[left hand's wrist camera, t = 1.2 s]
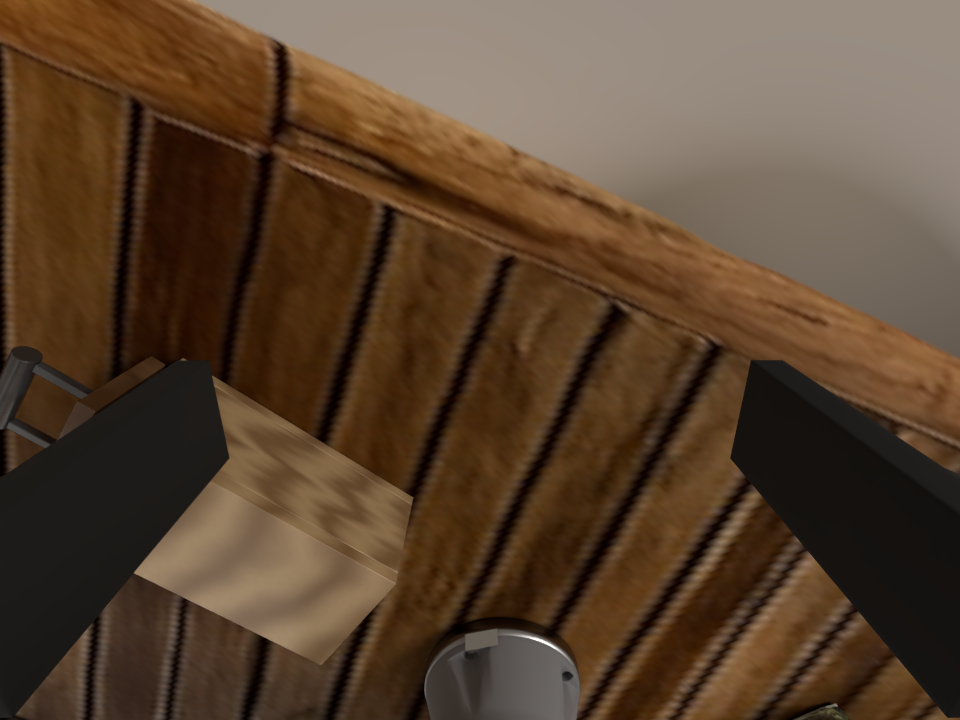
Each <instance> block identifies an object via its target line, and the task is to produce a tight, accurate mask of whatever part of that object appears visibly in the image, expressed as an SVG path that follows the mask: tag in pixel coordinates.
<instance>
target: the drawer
mask: <svg viewBox="0 0 960 720" xmlns="http://www.w3.org/2000/svg"><path fill="white" fill-rule="evenodd" d="M42 359H43V356H42V354H41V353H40V352H39V351H38V350H36V349H34V348H31V347H26V346H19V347H15V348H13V349H12V350H11V352H10V354H9V357H8V359H7V361H6V364H5V366H4V368H3V370H2V373H1V375H0V430H1V429H6V428H8V429H10V430H11V431H13V432H15V433H17V434H19V435H21V436H23V437H25V438H27V439H28V440H30V441H32V442H34V443H36V444H38V445H40V446H42V447H44V448H46V447H48V446H49V445H51V444H53V443H54V442H56V441H57V440H59V439H60V438H62V437H63V436H65V435H66V434H68V433H69V432H71V431H72V430H74V429H75V428H77V427H78V426H80V425H81V424H83V423H84V422H86V421H87V420H89V419H90V418H92V417H93V416H95V415H96V414H98V413H99V412H101V411H102V410H104V409H105V408H107V407H108V406H110V405H111V404H113V403H114V402H116V401H117V400H119V399H120V398H122V397H123V396H125V395H126V394H128V393H129V392H131V391H132V390H134V389H135V388H137V387H138V386H140V385H141V384H143V383H144V382H146V381H147V380H149V379H150V378H152V377H153V376H155V375H156V374H158V373H159V372H161V371H162V370H163V369H164V367H165V364H164V363H162V362H160V361H159V360H157V359H155V358H154V357H152V356H150V357H149V358H147V359H145V360H144V361H142V362H140V363H139V364H137V365H136V366H134V367H132V368H131V369H129V370H127V371H126V372H124V373H122V374H121V375H119V376H118V377H116V378H114V379H113V380H111V381H109V382H108V383H106V384H105V385H103V386H101V387H100V388H98V389H96V390H95V391H93V390H91V389H89V388H88V387H86V386H84V385H82V384H81V383H79V382H77V381H75V380H74V379H72V378H70V377H68V376H67V375H65V374H63V373H61V372H59V371H58V370H56V369H54V368H52V367H51V366H49V365H47V364H45V363H44V362H41V361H42ZM35 374H37V375H39V376H41V377H43V378H44V379H46V380H48V381H50V382H52V383H53V384H55V385H57V386H59V387H60V388H62V389H64V390H66V391H68V392H69V393H71V394H73V395H75V396H77V397H78V398H80V400H78V401H77V402H76V404H75V406H74V408H73V410H72V412H71V414H70V415H69V417H68V419H67V421H66V423H65V425H64V427H63V429H62V431H61V433H60V435H59V437H58V439H57V440H56V439H54V438H52V437H51V436H49V435H47V434H45V433H43V432H41V431H39V430H37V429H36V428H34V427H32V426H30V425H28V424H26V423H24V422H22V421H21V420H19V419H17V418H15V416H16V414H17V412H18V410H19V408H20V405H21V403H22V401H23V399H24V397H25V395H26V393H27V391H28V388H29V386H30V384H31V382H32V380H33V378H34V376H35ZM14 418H15V419H14Z"/></svg>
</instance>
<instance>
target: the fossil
mask: <svg viewBox="0 0 960 720" xmlns="http://www.w3.org/2000/svg"><path fill="white" fill-rule="evenodd" d="M794 720H850V719H849V718H848V716H847V715H846V714H844V713H843V712H842V711H841V710H840V709H839V707H838V706H837V704H832V705H828V706H825V707H821V708H819V709H817V710H815V711H812V712H810V713H807V714H805V715H802V716H800V717H798V718H796V719H794Z"/></svg>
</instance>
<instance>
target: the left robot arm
mask: <svg viewBox="0 0 960 720" xmlns="http://www.w3.org/2000/svg"><path fill="white" fill-rule="evenodd" d="M229 458H230V457H229V453H228V448H227V443H226V439H225V434H224V429H223V425H222V420H221V415H220V410H219V406H218V401H217V396H216V392H215V387H214V382H213V377H212V373H211V368H210V363H209V360H177V361H176V362H174V363H173V364H171V365H170V366H168V367H167V368H165V369H164V370H162V371H161V372H159V373H158V374H156V375H155V376H153V377H152V378H150V379H149V380H147V381H146V382H144V383H143V384H141V385H140V386H138V387H137V388H135V389H134V390H132V391H131V392H129V393H128V394H126V395H125V396H123V397H122V398H120V399H119V400H117V401H116V402H114V403H113V404H111V405H110V406H108V407H107V408H105V409H104V410H102V411H101V412H99V413H98V414H96V415H95V416H93V417H92V418H90V419H89V420H87V421H86V422H84V423H83V424H81V425H80V426H78V427H77V428H75V429H74V430H72V431H71V432H69V433H68V434H66V435H65V436H63V437H62V438H60V439H59V440H57V441H56V442H54V443H53V444H51V445H49V446H48V447H46V448H45V449H43V450H42V451H40V452H39V453H37V454H36V455H34V456H33V457H31V458H30V459H28V460H27V461H25V462H24V463H22V464H21V465H19V466H18V467H16V468H15V469H13V470H12V471H10V472H9V473H7V474H6V475H4V476H1V477H0V718H13V717H14V715H15V714H16V713H17V712H18V711H19V709H20V708H21V707H22V706H23V705H24V703H25V702H26V701H27V700H28V699H29V697H30V696H31V695H32V694H33V693H34V691H35V690H36V689H37V688H38V687H39V685H40V684H41V683H42V682H43V681H44V679H45V678H46V677H47V676H48V675H49V673H50V672H51V671H52V670H53V669H54V668H55V666H56V665H57V664H58V663H59V662H60V660H61V659H62V658H63V657H64V656H65V654H66V653H67V652H68V651H69V650H70V648H71V647H72V646H73V645H74V644H75V642H76V641H77V640H78V639H79V638H80V636H81V635H82V634H83V633H84V632H85V630H86V629H87V628H88V627H89V626H90V624H91V623H92V622H93V621H94V620H95V619H96V617H97V616H98V615H99V614H100V613H101V611H102V610H103V609H104V608H105V607H106V605H107V604H108V603H109V602H110V601H111V599H112V598H113V597H114V596H115V595H116V593H117V592H118V591H119V590H120V589H121V587H122V586H123V585H124V584H125V583H126V581H127V580H128V579H129V578H130V577H131V575H132V574H133V573H134V572H135V571H136V570H137V568H138V567H139V566H140V565H141V564H142V562H143V561H144V560H145V559H146V558H147V556H148V555H149V554H150V553H151V552H152V550H153V549H154V548H155V547H156V546H157V544H158V543H159V542H160V541H161V540H162V538H163V537H164V536H165V535H166V534H167V532H168V531H169V530H170V529H171V528H172V526H173V525H174V524H175V523H176V522H177V521H178V519H179V518H180V517H181V516H182V515H183V513H184V512H185V511H186V510H187V509H188V507H189V506H190V505H191V504H192V503H193V501H194V500H195V499H196V498H197V497H198V495H199V494H200V493H201V492H202V491H203V489H204V488H205V487H206V486H207V485H208V483H209V482H210V481H211V480H212V479H213V477H214V476H215V475H216V474H217V473H218V472H219V470H220V469H221V468H222V467H223V466H224V464H225V463H226V462H227V461H228V460H229ZM730 458H731V460H732V461H733V462H734V463H735V464H736V466H737V467H738V468H739V469H740V470H741V472H742V473H743V474H744V475H745V476H746V477H747V479H748V480H749V481H750V482H751V483H752V485H753V486H754V487H755V488H756V489H757V491H758V492H759V493H760V494H761V495H762V497H763V498H764V499H765V500H766V501H767V503H768V504H769V505H770V506H771V507H772V509H773V510H774V511H775V512H776V513H777V515H778V516H779V517H780V518H781V519H782V521H783V522H784V523H785V524H786V525H787V526H788V528H789V529H790V530H791V531H792V532H793V534H794V535H795V536H796V537H797V538H798V540H799V541H800V542H801V543H802V544H803V546H804V547H805V548H806V549H807V550H808V552H809V553H810V554H811V555H812V556H813V558H814V559H815V560H816V561H817V562H818V564H819V565H820V566H821V567H822V568H823V570H824V571H825V572H826V573H827V574H828V575H829V577H830V578H831V579H832V580H833V581H834V583H835V584H836V585H837V586H838V587H839V589H840V590H841V591H842V592H843V593H844V595H845V596H846V597H847V598H848V599H849V601H850V602H851V603H852V604H853V605H854V607H855V608H856V609H857V610H858V611H859V613H860V614H861V615H862V616H863V617H864V619H865V620H866V621H867V622H868V623H869V624H870V626H871V627H872V628H873V629H874V630H875V632H876V633H877V634H878V635H879V636H880V638H881V639H882V640H883V641H884V642H885V644H886V645H887V646H888V647H889V648H890V650H891V651H892V652H893V653H894V654H895V656H896V657H897V658H898V659H899V660H900V662H901V663H902V664H903V665H904V666H905V668H906V669H907V670H908V671H909V672H910V674H911V675H912V676H913V677H914V678H915V679H916V681H917V682H918V683H919V684H920V685H921V687H922V688H923V689H924V690H925V691H926V693H927V694H928V695H929V696H930V697H931V699H932V700H933V701H934V702H935V703H936V705H937V706H938V707H939V708H940V709H941V711H942V712H943V713H944V714H945V715H946V717H947V718H960V475H959V474H957V473H955V472H953V471H950V470H948V469H946V468H944V467H942V466H941V465H939V464H938V463H936V462H935V461H933V460H932V459H930V458H929V457H927V456H926V455H924V454H923V453H921V452H920V451H918V450H917V449H915V448H914V447H912V446H910V445H909V444H907V443H906V442H904V441H903V440H901V439H900V438H898V437H897V436H895V435H894V434H892V433H891V432H889V431H888V430H886V429H885V428H883V427H882V426H880V425H879V424H877V423H876V422H874V421H873V420H871V419H870V418H868V417H867V416H865V415H864V414H862V413H861V412H859V411H858V410H856V409H855V408H853V407H852V406H850V405H849V404H847V403H846V402H844V401H843V400H841V399H840V398H838V397H837V396H835V395H834V394H832V393H831V392H829V391H828V390H826V389H825V388H823V387H822V386H820V385H819V384H817V383H816V382H814V381H813V380H811V379H810V378H808V377H807V376H805V375H804V374H802V373H801V372H799V371H798V370H796V369H795V368H793V367H792V366H790V365H789V364H787V363H786V362H784V361H783V360H751V363H750V368H749V373H748V377H747V382H746V387H745V392H744V396H743V401H742V406H741V410H740V415H739V420H738V425H737V429H736V434H735V439H734V443H733V448H732V453H731V457H730ZM580 690H581V685H580V678H579V672H578V667H577V662H576V658H575V656H574V653H573V652H572V650H571V648H570V647H569V646H568V644H567V643H566V642H565V641H564V640H563V639H562V638H561V637H560V636H558V635H557V634H556V633H554V632H553V631H551V630H549V629H547V628H545V627H543V626H541V625H538V624H535V623H532V622H528V621H524V620H518V619H506V618H500V619H488V620H482V621H478V622H473V623H470V624H467V625H465V626H463V627H460V628H458V629H456V630H454V631H453V632H451V633H450V634H448V635H447V636H446V637H444V638H443V639H442V640H441V641H440V642H439V643H438V644H437V645H436V647H435V648H434V649H433V651H432V652H431V655H430V657H429V659H428V662H427V668H426V678H425V697H426V700H427V705H428V710H429V714H430V719H431V720H576V718H577V711H578V704H579V696H580Z"/></svg>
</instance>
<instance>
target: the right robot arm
mask: <svg viewBox="0 0 960 720" xmlns="http://www.w3.org/2000/svg"><path fill="white" fill-rule="evenodd" d="M0 720H21V719H18V718H15V717H13V718H0Z"/></svg>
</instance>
